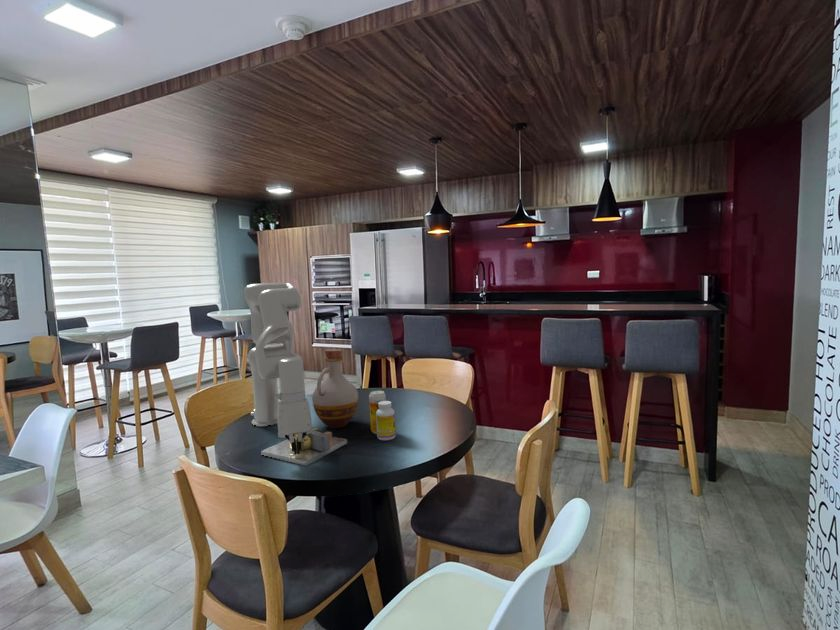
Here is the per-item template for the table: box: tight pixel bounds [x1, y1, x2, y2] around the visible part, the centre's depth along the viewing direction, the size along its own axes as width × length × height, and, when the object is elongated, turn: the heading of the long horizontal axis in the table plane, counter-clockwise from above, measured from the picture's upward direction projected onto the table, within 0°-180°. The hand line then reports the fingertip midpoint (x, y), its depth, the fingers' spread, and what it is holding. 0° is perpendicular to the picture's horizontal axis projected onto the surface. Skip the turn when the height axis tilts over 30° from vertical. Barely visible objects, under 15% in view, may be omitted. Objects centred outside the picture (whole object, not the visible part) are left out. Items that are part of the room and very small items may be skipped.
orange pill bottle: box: [368, 390, 387, 435], centre depth 163 cm, size 6×6×15 cm
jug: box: [311, 349, 359, 429], centre depth 172 cm, size 20×18×30 cm
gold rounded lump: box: [289, 427, 330, 452], centre depth 148 cm, size 16×10×6 cm, turn 53°
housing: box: [260, 431, 348, 467], centre depth 150 cm, size 20×20×6 cm
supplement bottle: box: [376, 400, 397, 441], centre depth 157 cm, size 7×7×13 cm
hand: (296, 452), depth 140 cm, fingers closed
